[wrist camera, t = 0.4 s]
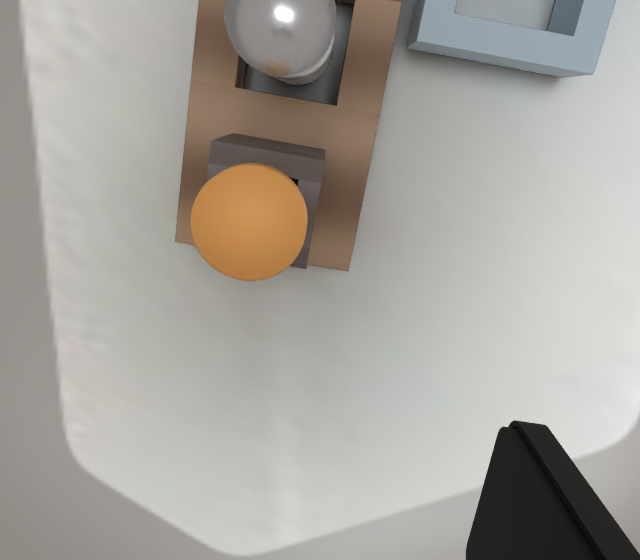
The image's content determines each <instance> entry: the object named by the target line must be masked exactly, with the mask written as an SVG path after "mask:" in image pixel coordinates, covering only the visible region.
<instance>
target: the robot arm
mask: <svg viewBox="0 0 640 560" xmlns="http://www.w3.org/2000/svg"><path fill="white" fill-rule="evenodd" d="M466 560H640V554H639V553H638V552H637V550H636V549H635V547H633V545H632V543H631V542H630V541H629V539H628V538H627V536H626V535H625V534H624V532H623V531H622V529H621V528H620V527H619V525H618V524H617V522H616V521H615V520H614V518H613V517H612V516H611V514H610V513H609V511H608V510H607V509H606V507H605V506H604V504H603V503H602V502H601V500H600V499H599V497H598V496H597V495H596V493H595V492H594V491H593V489H592V488H591V487H590V485H589V484H588V482H587V481H586V479H585V478H584V477H583V475H582V474H581V473H580V471H579V470H578V468H577V467H576V466H575V464H574V463H573V461H572V460H571V459H570V457H569V456H568V454H567V453H566V452H565V450H564V449H563V448H562V446H561V445H560V443H559V442H558V441H557V439H556V438H555V436H554V435H553V434H552V432H551V431H550V430H549V428H548V427H547V426H546V425H542V424H535V423H528V422H521V421H512V422H511V423H510V425H509V427H502V428H501V429H500V430H499V432H498V435H497V439H496V442H495V446H494V449H493V453H492V456H491V460H490V464H489V467H488V471H487V474H486V478H485V482H484V485H483V489H482V493H481V496H480V500H479V503H478V507H477V511H476V514H475V518H474V521H473V525H472V529H471V532H470V536H469V539H468V543H467V547H466Z"/></svg>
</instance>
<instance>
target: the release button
mask: <svg viewBox="0 0 640 560" xmlns="http://www.w3.org/2000/svg"><path fill="white" fill-rule="evenodd" d="M307 221H308V216H307V208H306V204H305V200H304V198H303V196H302V193H301V192H300V190H299V188H298V187H297V185H296V184H295V183H294V182H293V181H292V180H291V179H290V178H289V177H288V176H287V175H286V174H284V173H283V172H282V171H280V170H278V169H276V168H274V167H271V166H269V165H265V164H261V163H242V164H237V165H234V166H231V167H229V168H227V169H225V170H223V171H222V172H220V173H219V174H217V175H216V176H214V177H213V178H212V179H210V180H209V181H208V182H207V183H206V184H205V185H204V186H203V187H202V189H201V190H200V192H199V193H198V195H197V197H196V199H195V201H194V204H193V207H192V212H191V232H192V236H193V239H194V242H195V245H196V247H197V249H198V250H199V252H200V254H201V255H202V256H203V258H204V259H205V260H206V261H207V262H208V263H209V264H210V265H211V266H212V267H213V268H215V269H216V270H217V271H219V272H221V273H222V274H224V275H226V276H229V277H232V278H235V279H239V280H246V281H256V280H263V279H266V278H270V277H272V276H275V275H277V274H279V273H280V272H282V271H283V270H285V269H286V268H287V267H289V265H290V264H291V263H292V262H293V261H294V260H295V259H296V257H297V256H298V254H299V253H300V251H301V249H302V246H303V244H304V240H305V236H306V230H307Z"/></svg>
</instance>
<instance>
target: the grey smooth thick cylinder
mask: <svg viewBox="0 0 640 560" xmlns="http://www.w3.org/2000/svg"><path fill="white" fill-rule="evenodd" d="M225 24H226V29H227V33H228V36H229V39H230V41H231V43H232V45H233V47H234V48H235V50H236V51H237V53H238V54H239V55H240V57H241V58H242V59H243V60H244V61H245V62H246V63H248V64H249V65H250V66H252V67H253V68H255V69H257V70H259V71H261V72H263V73H265V74H267V75H269V76H272V77H274V78H276V79H278V80H280V81H283V82H285V83H288V84H291V85H303V84H307V83H310V82H312V81H314V80H316V79H317V78H319V77H320V76H321V75H322V74H323V73H324V72H325V70H326V69H327V67H328V65H329V63H330V61H331V57H332V52H333V44H334V36H335V28H336V5H335V0H226V3H225Z"/></svg>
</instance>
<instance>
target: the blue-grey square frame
mask: <svg viewBox="0 0 640 560" xmlns="http://www.w3.org/2000/svg"><path fill="white" fill-rule="evenodd" d="M615 2H616V0H556V1H555V5H554V9H553V12H552V16H551V20H550V23H549V27H548V30H547V31H543V30H538V29H532V28H527V27H522V26H517V25H512V24H506V23H501V22H496V21H491V20H486V19H480V18H475V17H470V16H465V15H460V14H454V12H455V7H456V3H457V0H416V1H415V6H414V11H413V16H412V21H411V26H410V31H409V36H408V40H407V45H406V48H408V49H413V50H419V51H424V52H429V53H435V54H440V55H445V56H450V57H456V58H461V59H466V60H472V61H477V62H482V63H488V64H493V65H498V66H503V67H509V68H514V69H519V70H525V71H530V72H535V73H541V74H546V75H551V76H556V77H571V76H581V75H591V74H594V71H595V68H596V65H597V61H598V58H599V55H600V51H601V48H602V45H603V42H604V38H605V35H606V32H607V28H608V25H609V22H610V18H611V15H612V12H613V9H614V5H615Z"/></svg>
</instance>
